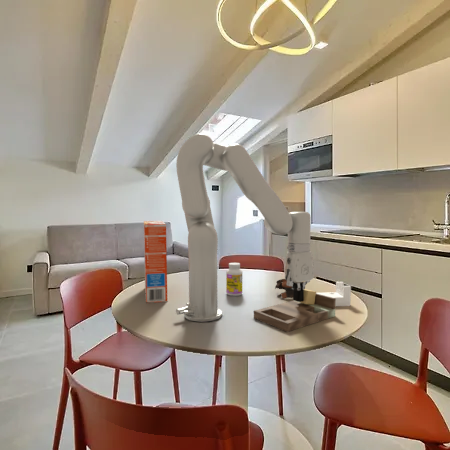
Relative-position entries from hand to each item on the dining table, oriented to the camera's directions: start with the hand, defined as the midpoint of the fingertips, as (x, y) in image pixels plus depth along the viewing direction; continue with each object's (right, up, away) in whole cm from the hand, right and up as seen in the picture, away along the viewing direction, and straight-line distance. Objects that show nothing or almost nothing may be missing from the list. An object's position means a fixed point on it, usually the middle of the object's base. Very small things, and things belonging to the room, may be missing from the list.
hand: (298, 300), depth 119 cm
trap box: (-2, -5, -4) cm, 6 cm away
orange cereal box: (-54, -3, +25) cm, 60 cm away
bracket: (+14, -4, +11) cm, 18 cm away
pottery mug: (+1, -3, +22) cm, 22 cm away
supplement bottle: (-21, -3, +25) cm, 33 cm away
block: (+3, -1, +2) cm, 4 cm away
